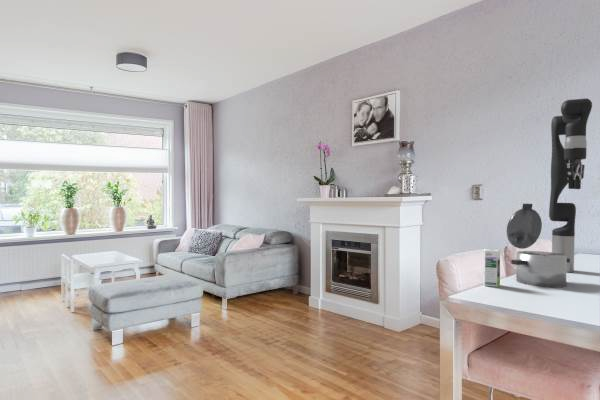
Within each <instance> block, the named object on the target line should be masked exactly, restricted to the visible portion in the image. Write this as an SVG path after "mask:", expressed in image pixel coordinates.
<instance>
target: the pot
mask: <svg viewBox="0 0 600 400" xmlns="http://www.w3.org/2000/svg"><path fill="white" fill-rule="evenodd" d="M567 262H570V259H569V258H567V256H566V255H564V254H559V253H552V251H551V252H550V251H540V250H539V251H538V250H537V251H535V250H519V251H516V259H511V261H510V263H511V264H512V265H515V266H516V269H515V270H516V273H515V274H516V275H515V276H516V277H515V278H516V279H515V280H516V282H518V283H520V284H523V285H527V284H528V285H527V286H534V287H540V288H541V287H542V288H564V287H567V272H566V270H567Z"/></svg>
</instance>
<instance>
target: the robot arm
mask: <svg viewBox="0 0 600 400" xmlns="http://www.w3.org/2000/svg"><path fill="white" fill-rule="evenodd" d="M592 108H593V102H592V101H591V99H589V98H577V99H576V98H575V99H567V100H564V101H563V102H562V103H561V105H560V113H561V115H556V116H553V117H552V120H551V124H550V125H551V127H550V128H551V131H550V132H551V162H550V197H549V209H548V217H549V219H550V221H552V222H564V223H565V222H566V224H564V225H563V226H560V227H556V228H553V229H552V231H551V252H552V253H559V254H564V255H566V256H567V258H569V259H570V262H567V270H566V273H574V271H575V234H576V233H575V229H576V217H577V216H576V213H577V212H576V211H577V208H576V204H575V203H573V202H558V201H559V197H560V195H561V194H562V192H563V191H564V189H565V188H566V187H567V186H568V189H569V190H581V189H582V186H581V185H582V180H583V179H584V177H585V175H584V174H585V164H583V163H582V160H586V159H587V144H588V143H587V142H588V141H587V125H588V124H587V123H588V120H589V117H590V114H591V112H592ZM560 136H565V139H564V146H563V144H562V141H561V139H560Z"/></svg>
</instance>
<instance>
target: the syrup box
mask: <svg viewBox="0 0 600 400" xmlns="http://www.w3.org/2000/svg"><path fill="white" fill-rule="evenodd" d="M483 286H484V287H494V288H500V287H501V250H500V249H494V248H492V249H491V248H484V249H483Z"/></svg>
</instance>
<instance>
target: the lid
mask: <svg viewBox="0 0 600 400" xmlns="http://www.w3.org/2000/svg"><path fill="white" fill-rule="evenodd" d="M542 227H543V222H542V218H541V216H540V214H539V213H538V212H537V211H536V210H535V209H533V204H532V203H522V208H521V209H518V210H515V212H514V213H513V214H512V215H511V216H510V219H509V220H508V222H507V226H506V236H507V240H508V242H509V243H510V244H511V246H513V247H515V248H516V249H517V248H518V249H521V250H522V249H527V248H530V247H531V246H533V245H534V244H535V243H536V242H537V241H538V239H539V238H540V235H541V232H542V230H543V229H542Z"/></svg>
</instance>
